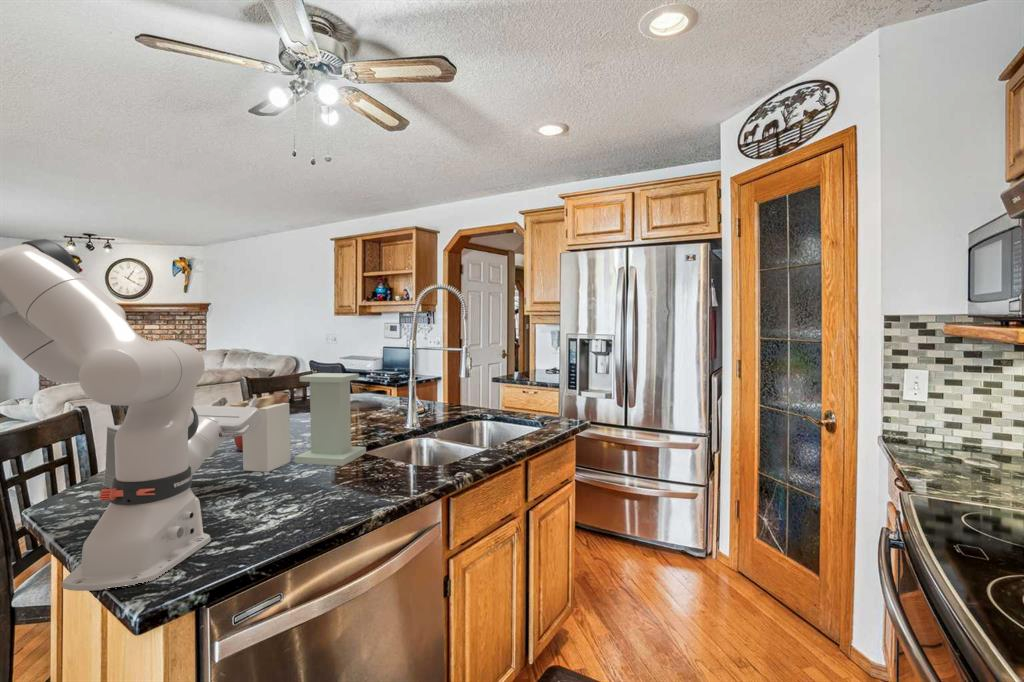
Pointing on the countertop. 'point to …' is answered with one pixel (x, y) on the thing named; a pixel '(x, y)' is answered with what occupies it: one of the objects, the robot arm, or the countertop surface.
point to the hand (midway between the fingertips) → (239, 399)
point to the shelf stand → (330, 420)
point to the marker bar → (265, 401)
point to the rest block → (268, 440)
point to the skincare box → (110, 456)
